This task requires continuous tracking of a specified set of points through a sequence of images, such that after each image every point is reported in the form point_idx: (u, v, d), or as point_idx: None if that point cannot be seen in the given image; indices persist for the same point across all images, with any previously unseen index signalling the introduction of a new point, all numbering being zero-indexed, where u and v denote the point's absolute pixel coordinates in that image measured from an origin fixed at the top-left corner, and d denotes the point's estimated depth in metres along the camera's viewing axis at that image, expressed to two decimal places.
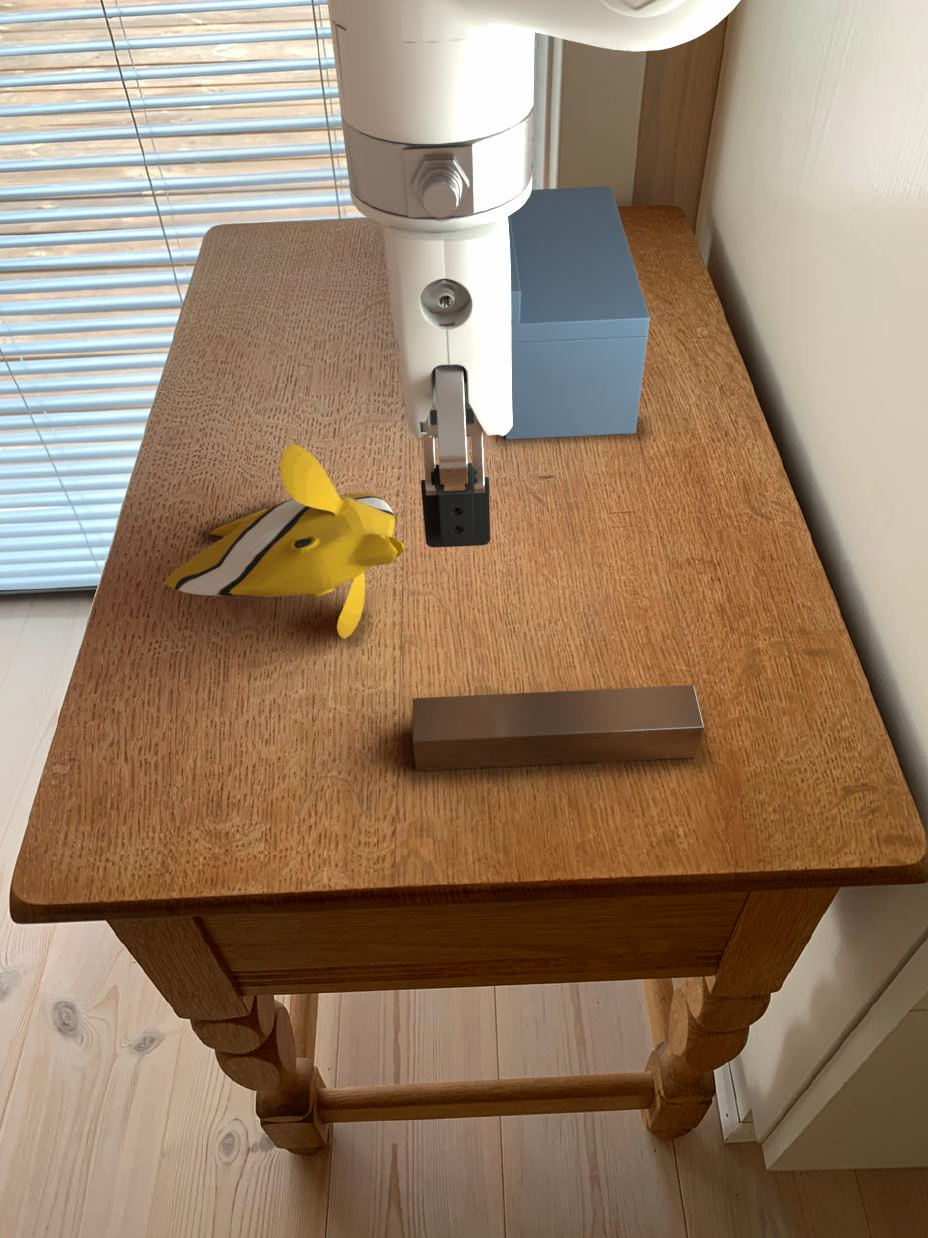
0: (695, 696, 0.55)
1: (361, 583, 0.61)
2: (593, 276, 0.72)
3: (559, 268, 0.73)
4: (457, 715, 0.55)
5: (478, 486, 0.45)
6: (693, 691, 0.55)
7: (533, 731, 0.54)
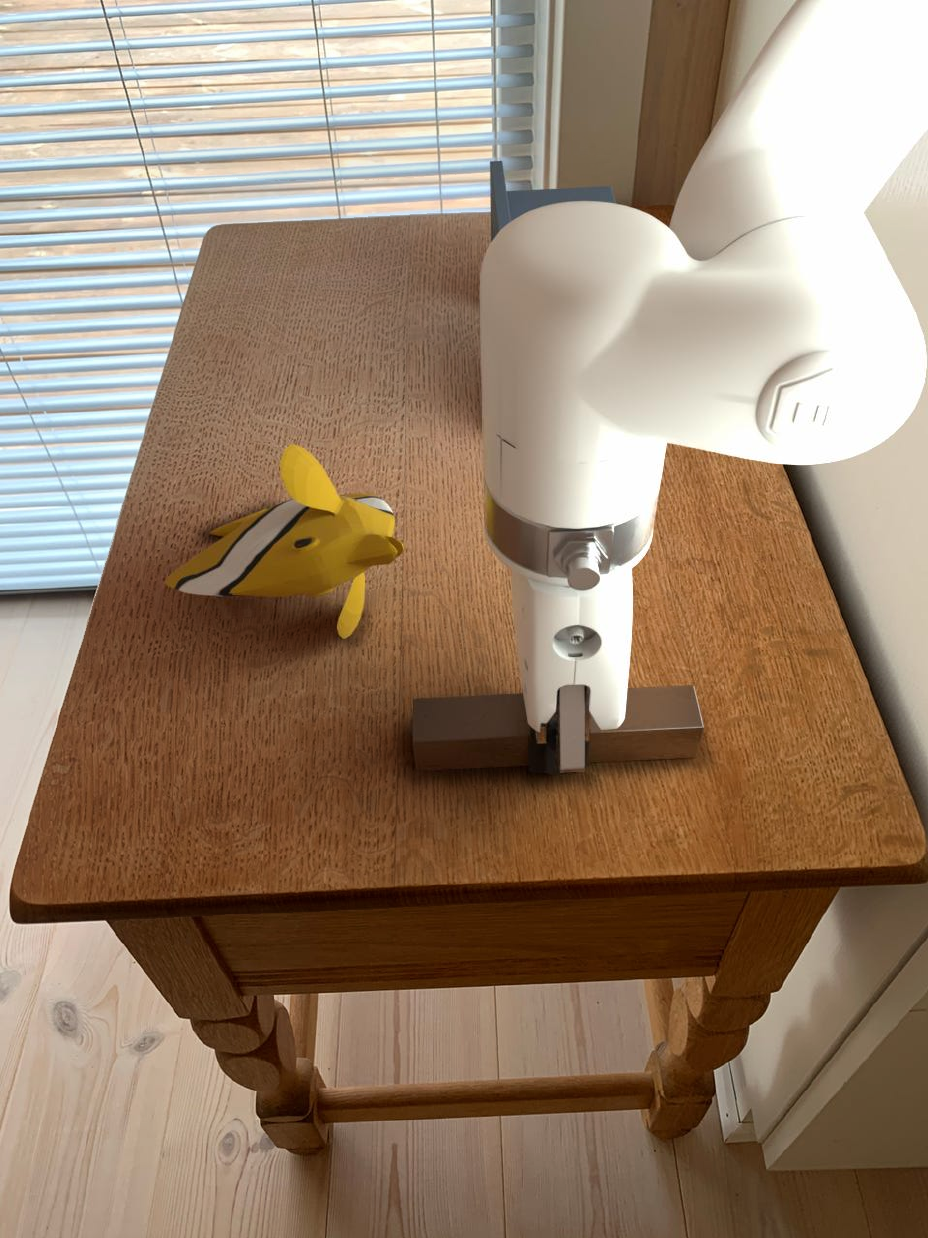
0: (695, 696, 0.55)
1: (361, 583, 0.61)
2: None
3: None
4: (457, 716, 0.55)
5: None
6: (693, 691, 0.55)
7: None
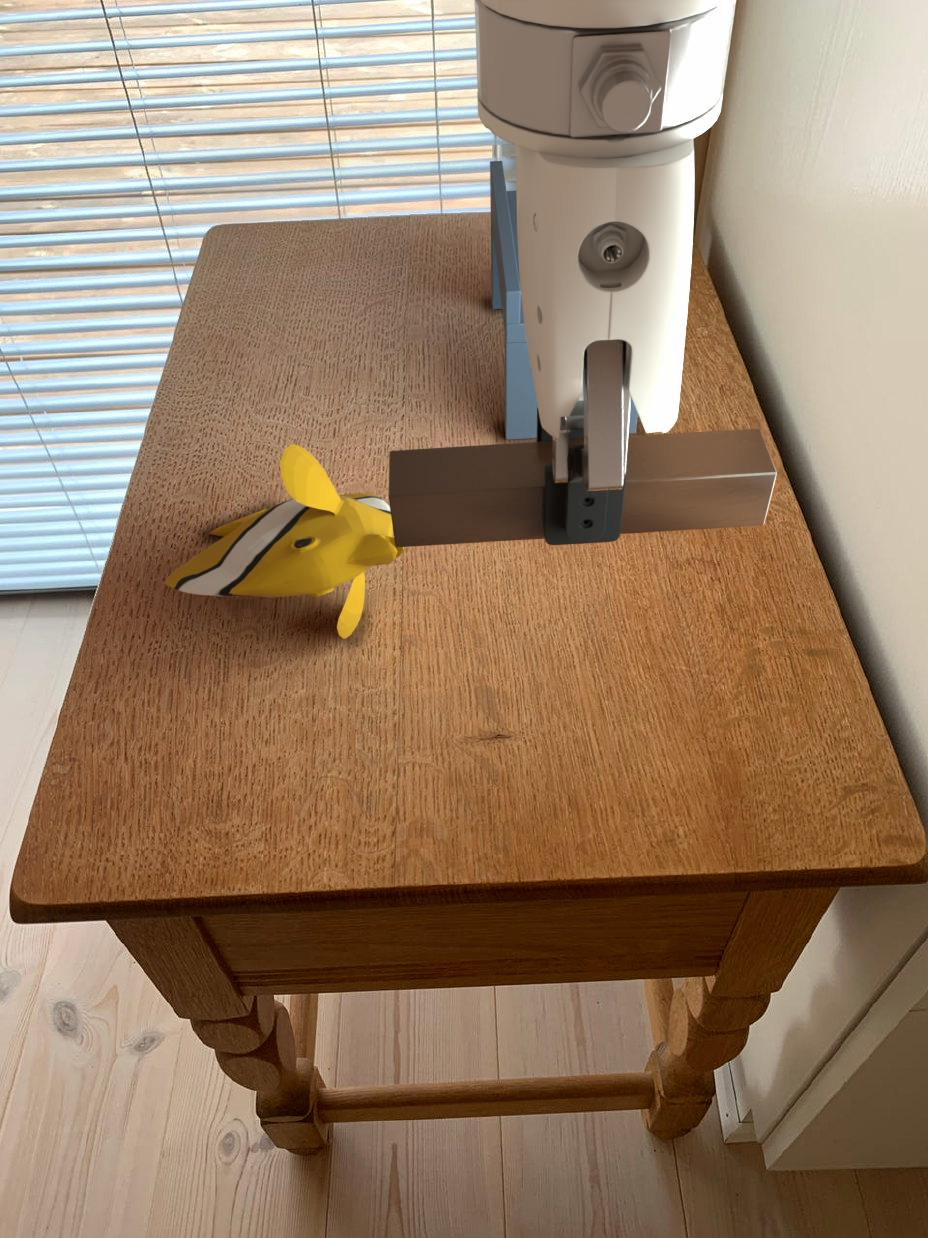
0: (763, 440, 0.42)
1: (361, 583, 0.61)
2: None
3: None
4: (447, 467, 0.41)
5: None
6: (760, 434, 0.42)
7: None
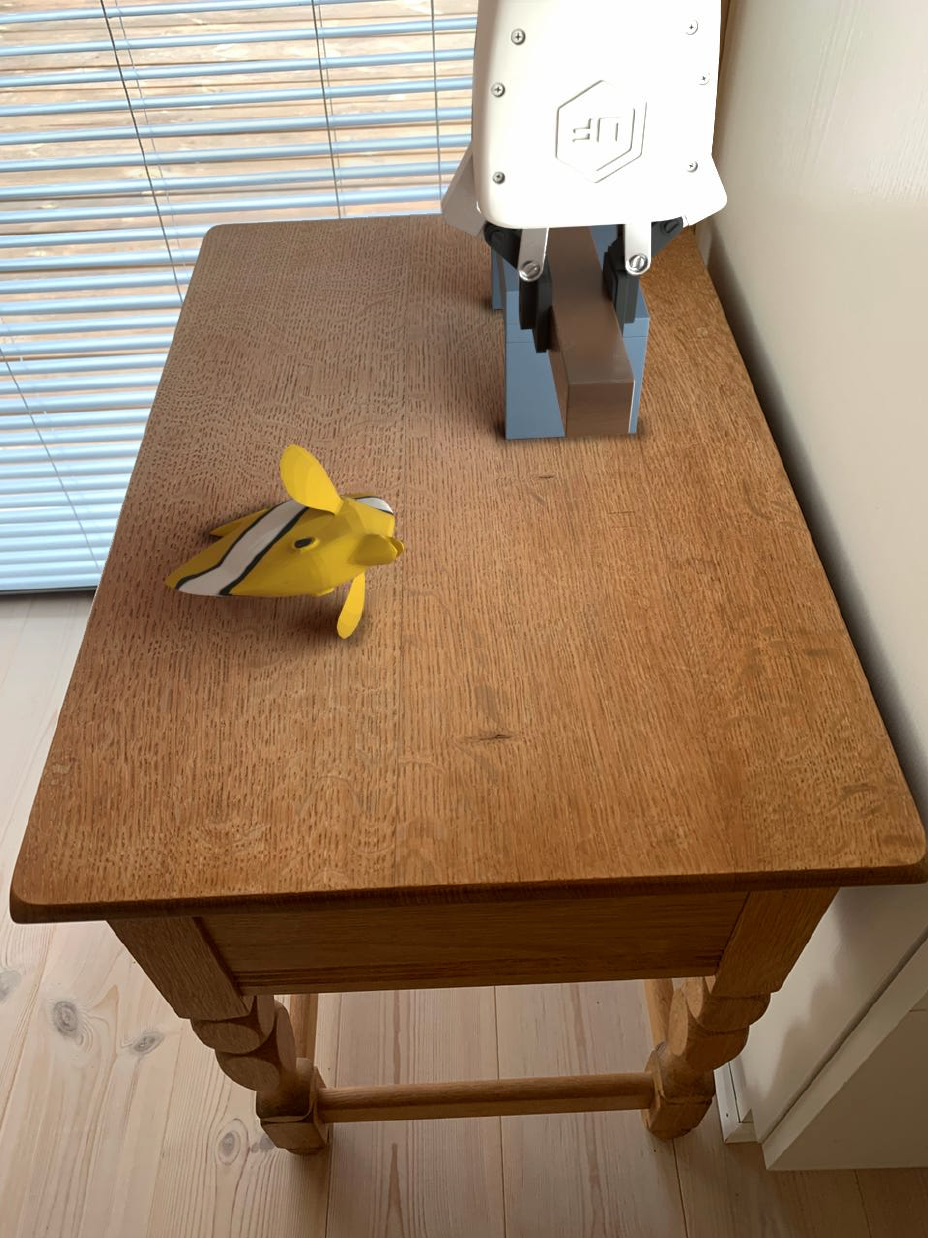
0: (616, 380, 0.44)
1: (361, 583, 0.61)
2: None
3: None
4: (565, 232, 0.52)
5: (517, 271, 0.47)
6: (623, 378, 0.44)
7: None
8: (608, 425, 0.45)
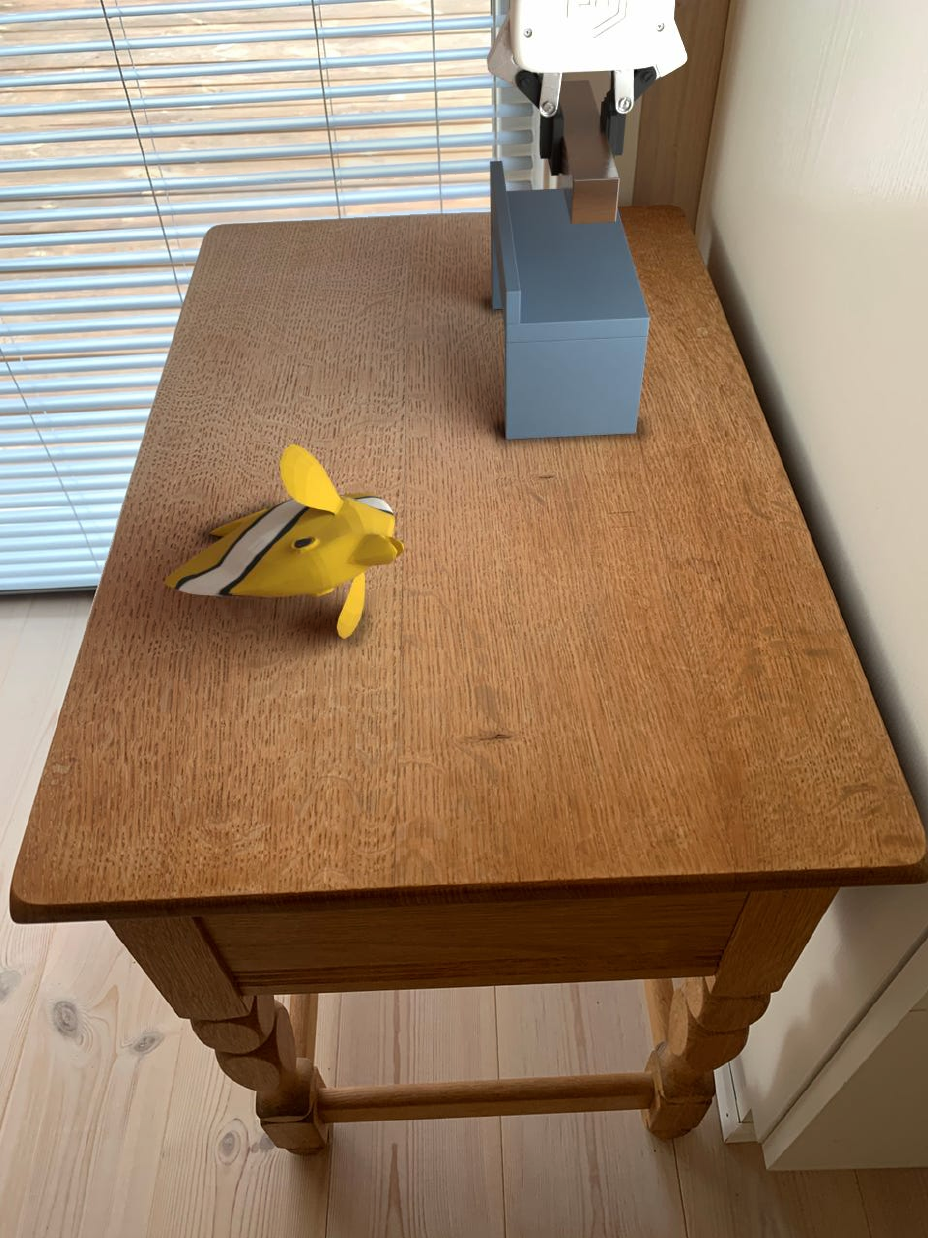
0: (606, 177, 0.63)
1: (361, 583, 0.61)
2: (593, 276, 0.72)
3: (559, 268, 0.73)
4: (574, 93, 0.72)
5: (539, 110, 0.66)
6: (611, 176, 0.63)
7: None
8: (601, 214, 0.65)
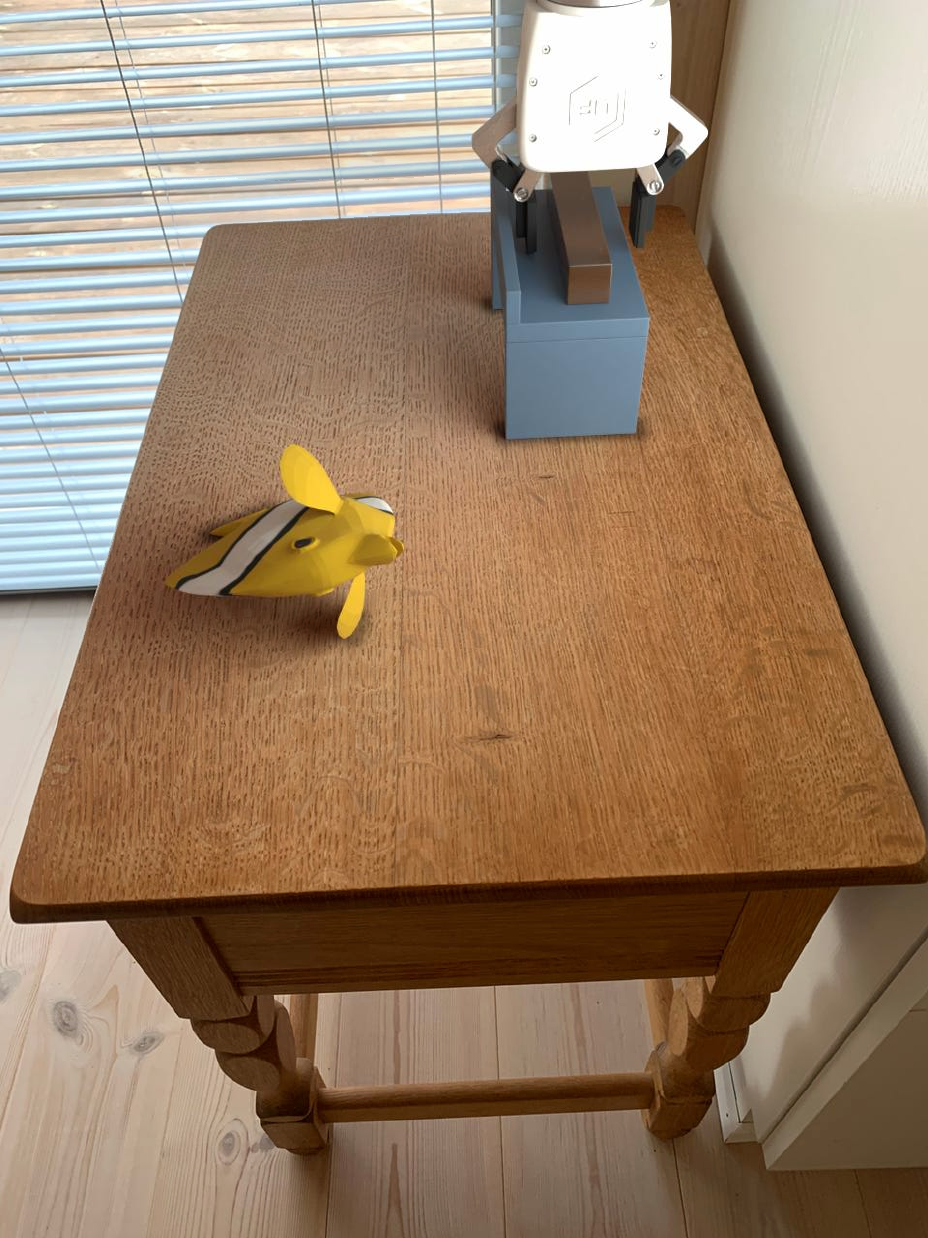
0: (600, 263, 0.67)
1: (361, 583, 0.61)
2: None
3: (559, 268, 0.73)
4: (570, 175, 0.76)
5: (513, 192, 0.70)
6: (604, 262, 0.67)
7: (559, 201, 0.73)
8: (595, 296, 0.69)
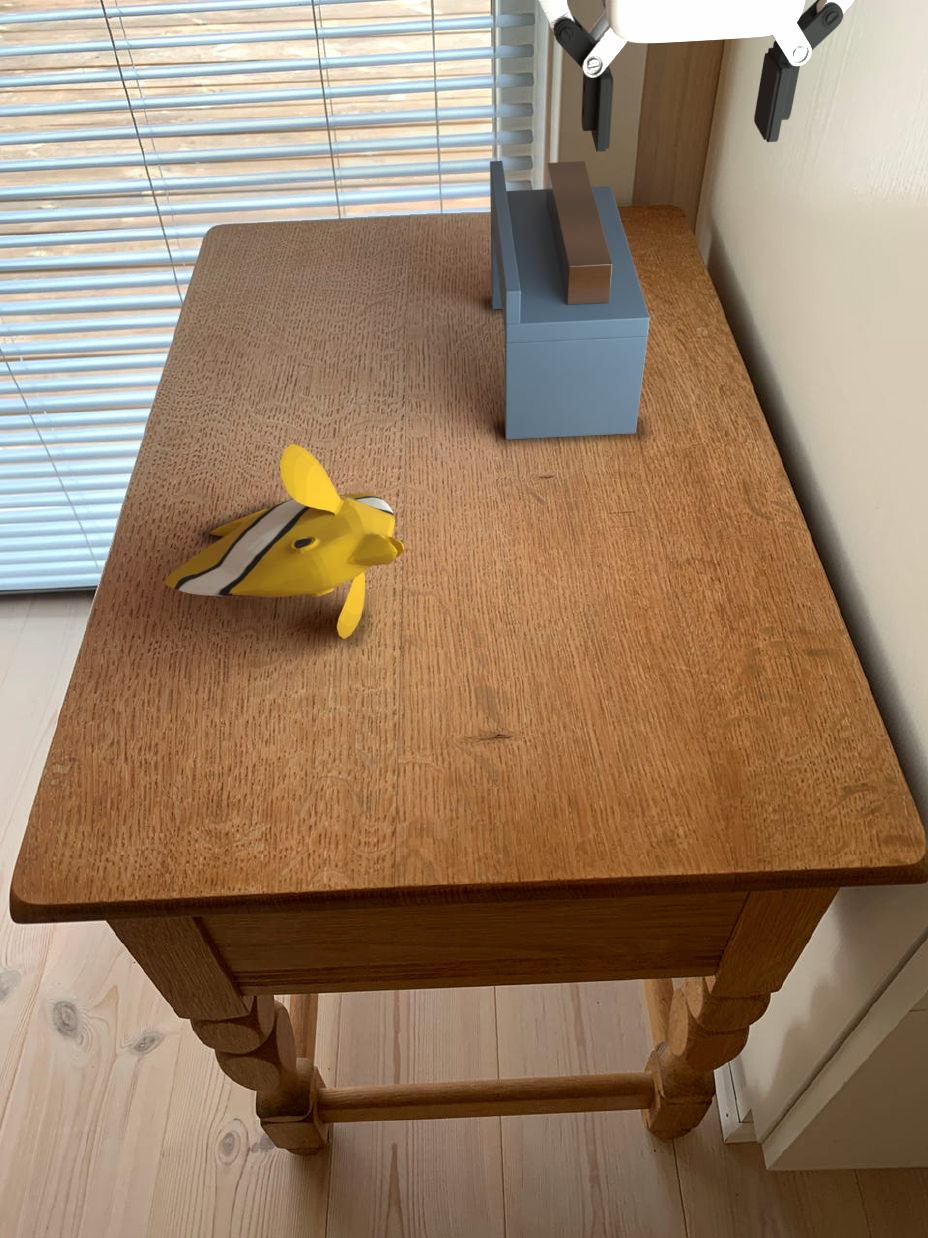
0: (600, 263, 0.67)
1: (361, 583, 0.61)
2: None
3: (559, 268, 0.73)
4: (570, 175, 0.76)
5: (582, 61, 0.53)
6: (604, 262, 0.67)
7: (559, 201, 0.73)
8: (595, 296, 0.69)
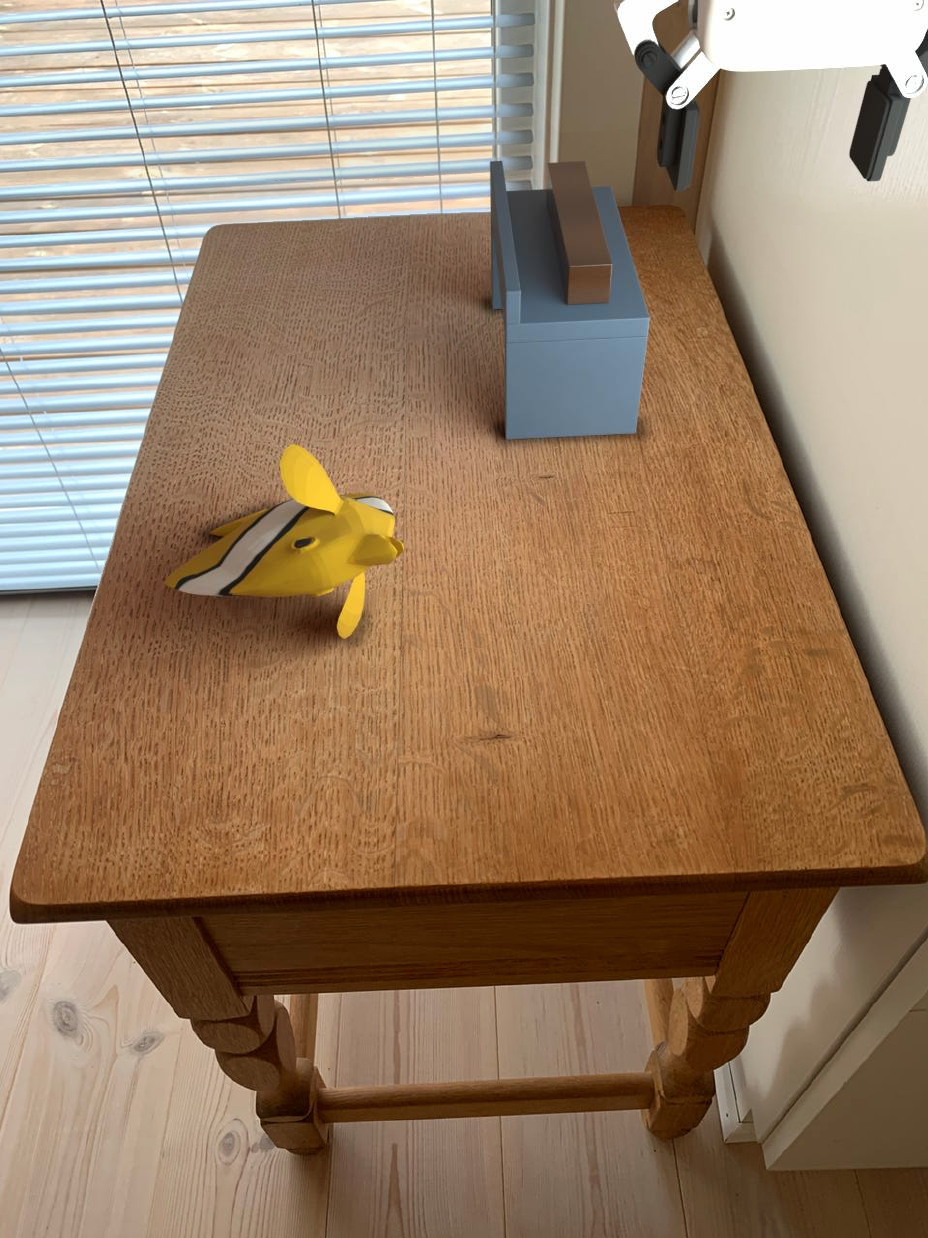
0: (600, 263, 0.67)
1: (361, 583, 0.61)
2: None
3: (559, 268, 0.73)
4: (570, 175, 0.76)
5: (665, 90, 0.47)
6: (604, 262, 0.67)
7: (559, 201, 0.73)
8: (595, 296, 0.69)
